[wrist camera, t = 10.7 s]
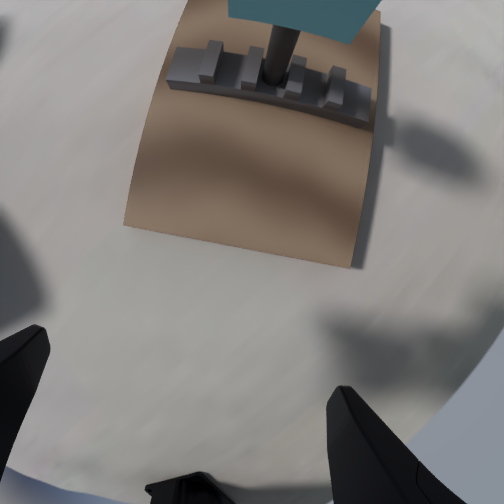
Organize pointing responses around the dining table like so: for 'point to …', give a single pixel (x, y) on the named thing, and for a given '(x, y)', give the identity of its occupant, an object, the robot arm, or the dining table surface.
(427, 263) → the dining table surface
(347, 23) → the sleeve
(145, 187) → the wooden base post stand
